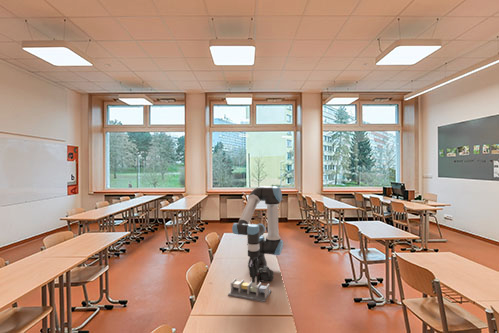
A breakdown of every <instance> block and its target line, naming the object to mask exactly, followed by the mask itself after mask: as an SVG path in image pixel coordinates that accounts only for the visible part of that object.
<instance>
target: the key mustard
mask: <svg viewBox="0 0 499 333" xmlns="http://www.w3.org/2000/svg"><path fill="white" fill-rule="evenodd" d="M249 283H250V282H245V281H244V283H243V284H242V285H241V286H242V289H247V285H248V284H249Z"/></svg>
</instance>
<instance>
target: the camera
mask: <svg viewBox="0 0 499 333" xmlns="http://www.w3.org/2000/svg"><path fill="white" fill-rule="evenodd" d="M257 275H258V276H256V279H257V283H260V282H264V283H265V282H266V283H267V282H272V281H273V280H274V271H273V270H272V269H271V268H270V267H268V265H267V266H265V267H263V268H259V269H258V274H257Z"/></svg>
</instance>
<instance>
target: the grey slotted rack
mask: <svg viewBox="0 0 499 333" xmlns="http://www.w3.org/2000/svg"><path fill="white" fill-rule="evenodd" d="M235 281H237V278H236V277H234V279H233V280H232V281H230V291H229V293H228V295H227V296H230V297H235V298H239V299H240V298H241V299H245V300H250V301H256V302H261V303H265V302H266V301H267V299H268V297H269V296H270V294H271V293H272V289H270V283H267V285H265V286H266V287H265V293H264V292H259V288H260V286H261V285H262V281H259V282H258V284H257V287H256V292H251V291H250V287H251V286H252V280H251V281H249V282H248V283H249V284H248V285H247V289H242V286H241V285H242V284H243V283H244V282H245V279H242V280H241V281H239V282H240V283H239V284H238V285H239V288H236V287H233V283H234V282H235Z"/></svg>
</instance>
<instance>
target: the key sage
mask: <svg viewBox="0 0 499 333" xmlns="http://www.w3.org/2000/svg"><path fill="white" fill-rule="evenodd" d="M250 291H251V292H256V287H252V286H251V287H250Z"/></svg>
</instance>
